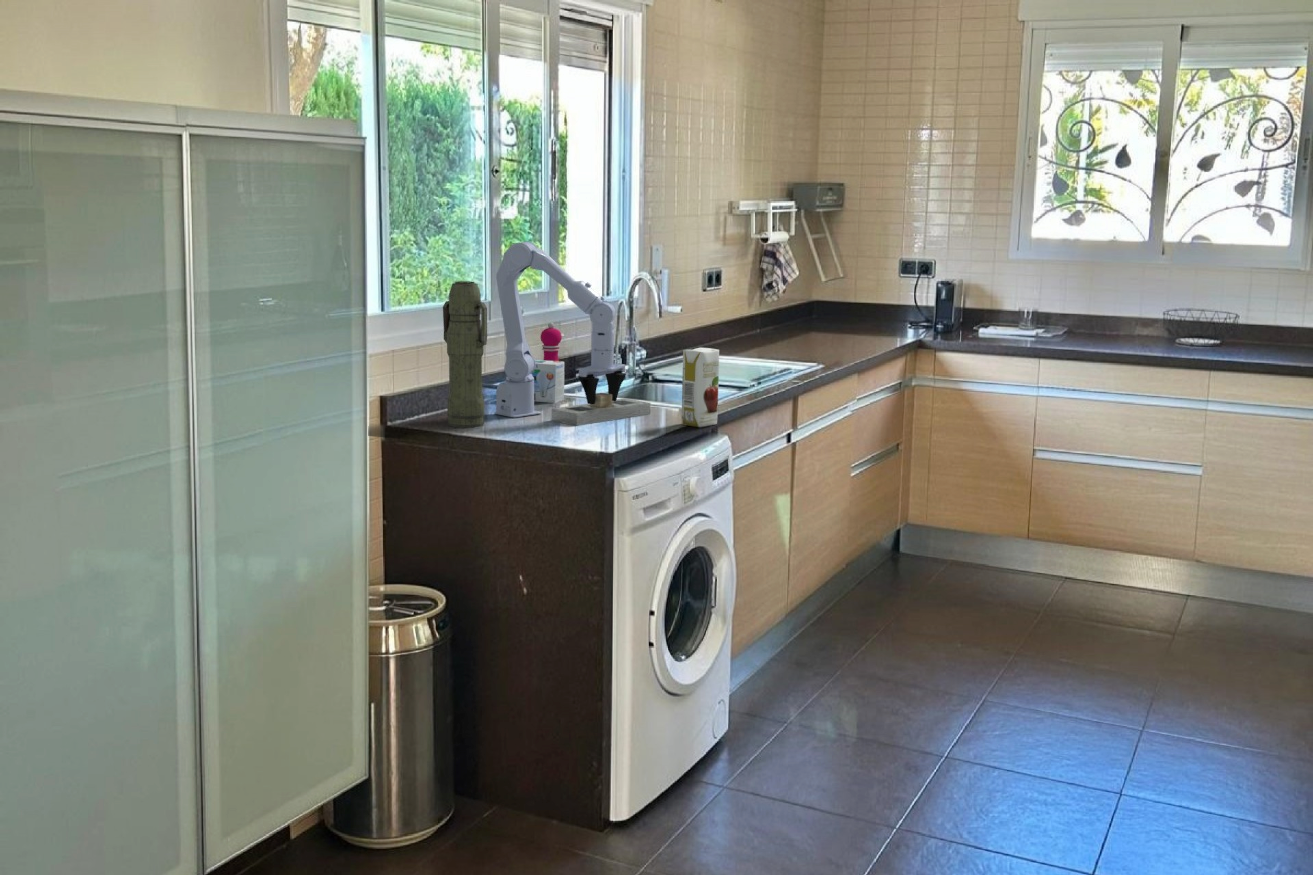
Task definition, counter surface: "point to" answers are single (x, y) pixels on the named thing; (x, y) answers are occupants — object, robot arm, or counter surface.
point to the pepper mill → (551, 343)
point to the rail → (600, 412)
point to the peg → (602, 400)
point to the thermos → (465, 353)
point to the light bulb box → (548, 381)
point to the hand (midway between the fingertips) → (601, 402)
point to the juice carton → (700, 387)
